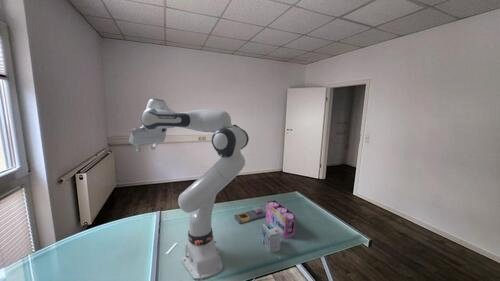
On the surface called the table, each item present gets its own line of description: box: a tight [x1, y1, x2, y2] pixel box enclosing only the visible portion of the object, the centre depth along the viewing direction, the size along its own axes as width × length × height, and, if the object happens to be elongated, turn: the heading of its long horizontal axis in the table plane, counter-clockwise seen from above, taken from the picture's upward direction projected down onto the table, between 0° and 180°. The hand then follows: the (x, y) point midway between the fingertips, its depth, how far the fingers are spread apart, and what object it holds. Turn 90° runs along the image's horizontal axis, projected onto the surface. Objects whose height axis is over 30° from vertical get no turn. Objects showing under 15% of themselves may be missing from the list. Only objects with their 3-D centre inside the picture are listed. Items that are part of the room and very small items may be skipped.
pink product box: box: [265, 200, 296, 239], centre depth 127 cm, size 24×8×14 cm, turn 26°
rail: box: [233, 209, 266, 225], centre depth 139 cm, size 8×22×3 cm, turn 120°
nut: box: [253, 205, 263, 215], centre depth 142 cm, size 4×4×6 cm
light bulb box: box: [261, 222, 282, 254], centre depth 109 cm, size 11×7×11 cm, turn 21°
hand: (145, 150), depth 109 cm, fingers open, 8 cm apart
